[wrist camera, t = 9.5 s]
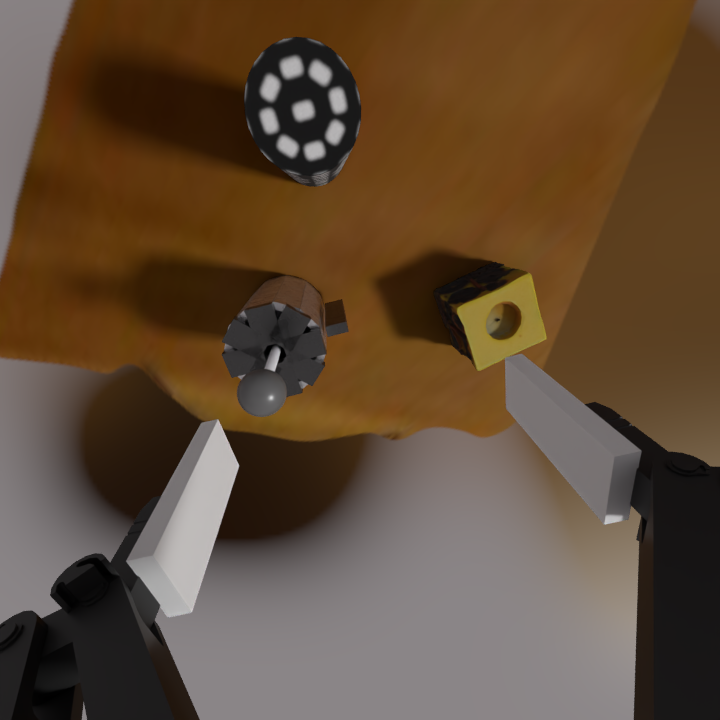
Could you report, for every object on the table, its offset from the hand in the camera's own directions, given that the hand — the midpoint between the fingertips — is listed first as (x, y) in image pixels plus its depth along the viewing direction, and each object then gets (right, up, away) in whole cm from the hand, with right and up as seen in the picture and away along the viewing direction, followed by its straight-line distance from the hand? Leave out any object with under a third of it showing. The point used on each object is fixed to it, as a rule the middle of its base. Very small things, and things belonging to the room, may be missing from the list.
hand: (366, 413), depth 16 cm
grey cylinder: (-9, +10, +36) cm, 38 cm away
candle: (+17, +11, +38) cm, 43 cm away
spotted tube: (-6, +29, +28) cm, 40 cm away
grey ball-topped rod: (-11, +9, +34) cm, 37 cm away
